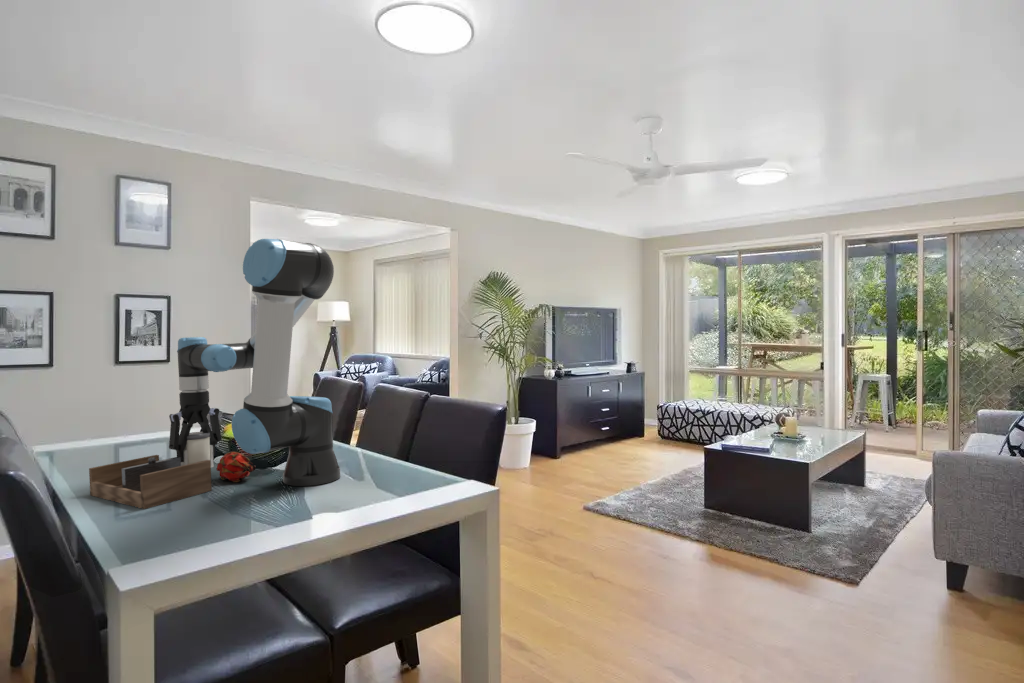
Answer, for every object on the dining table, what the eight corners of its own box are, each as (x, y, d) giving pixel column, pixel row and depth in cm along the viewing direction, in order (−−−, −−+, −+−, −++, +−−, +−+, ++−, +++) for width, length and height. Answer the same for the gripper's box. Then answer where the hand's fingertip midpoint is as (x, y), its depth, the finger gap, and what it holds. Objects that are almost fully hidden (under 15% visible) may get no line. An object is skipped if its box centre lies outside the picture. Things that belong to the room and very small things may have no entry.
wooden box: (211, 490, 155) (210, 460, 154) (144, 509, 140) (142, 475, 140) (157, 479, 167) (156, 451, 167) (90, 495, 152) (88, 464, 152)
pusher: (181, 482, 159) (180, 452, 158) (126, 496, 146) (124, 464, 146) (178, 481, 159) (177, 452, 159) (122, 495, 147) (121, 463, 147)
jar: (216, 473, 172) (215, 432, 172) (192, 479, 166) (191, 437, 166) (201, 470, 176) (200, 430, 175) (177, 476, 170) (176, 435, 169)
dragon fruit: (225, 481, 170) (249, 493, 163) (202, 469, 164) (225, 482, 157) (243, 454, 173) (267, 465, 166) (221, 442, 167) (244, 453, 160)
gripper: (218, 386, 181) (220, 461, 181) (151, 394, 163) (154, 476, 164) (233, 387, 177) (236, 463, 178) (167, 395, 160) (170, 479, 160)
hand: (197, 469), depth 171 cm, fingers closed on jar, 7 cm apart
